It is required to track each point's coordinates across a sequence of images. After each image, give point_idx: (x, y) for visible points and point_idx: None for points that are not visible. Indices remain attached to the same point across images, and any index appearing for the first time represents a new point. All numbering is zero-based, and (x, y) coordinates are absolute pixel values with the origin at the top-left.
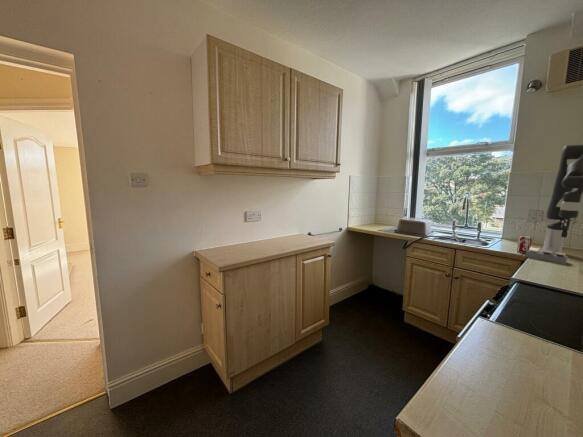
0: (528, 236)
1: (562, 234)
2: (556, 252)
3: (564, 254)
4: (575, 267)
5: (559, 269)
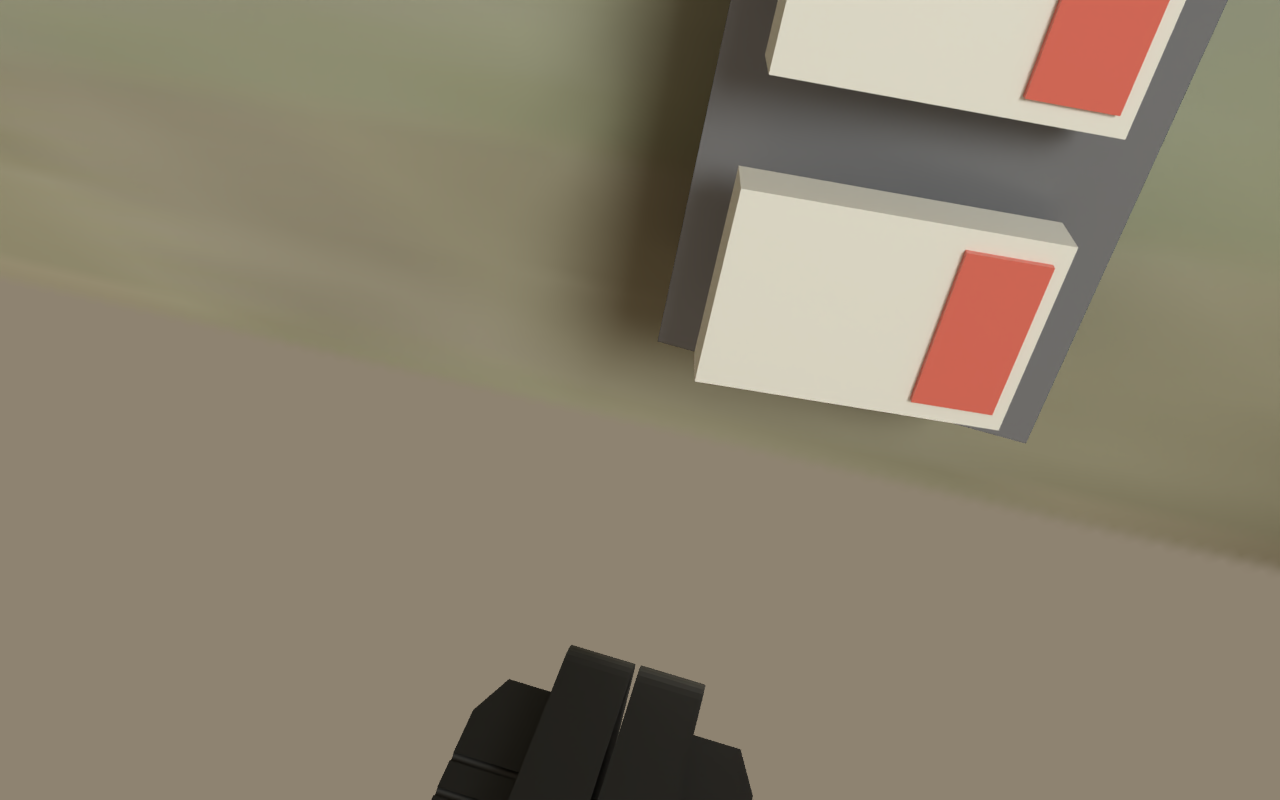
0: None
1: (451, 765)
2: (737, 205)
3: (698, 358)
4: (606, 390)
5: (122, 78)
